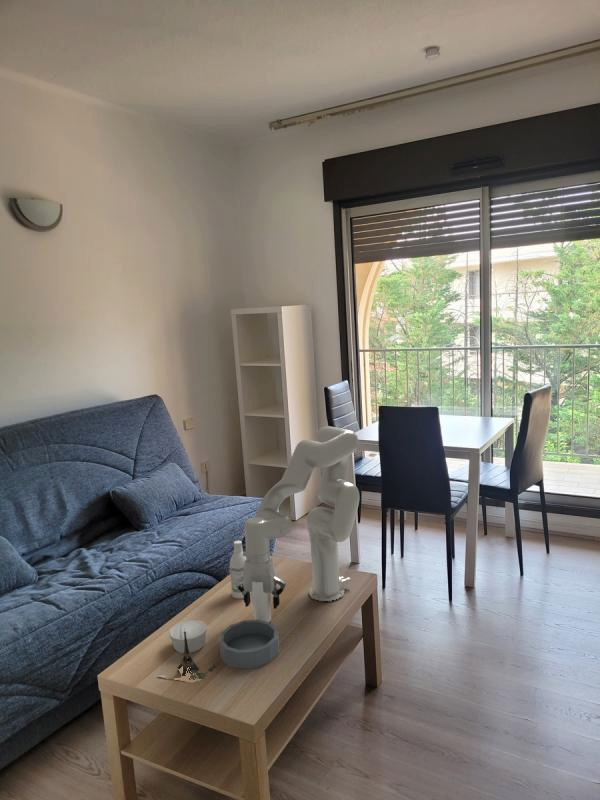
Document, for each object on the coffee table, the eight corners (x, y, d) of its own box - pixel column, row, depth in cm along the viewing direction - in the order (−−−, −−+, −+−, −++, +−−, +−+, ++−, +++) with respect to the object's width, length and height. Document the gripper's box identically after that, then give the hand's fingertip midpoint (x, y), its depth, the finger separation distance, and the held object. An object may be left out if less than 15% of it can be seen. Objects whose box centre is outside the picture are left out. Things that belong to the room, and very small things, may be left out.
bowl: (262, 628, 186) (261, 614, 185) (289, 654, 171) (288, 638, 170) (212, 647, 177) (210, 631, 176) (235, 675, 162) (234, 659, 161)
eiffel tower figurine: (154, 680, 163) (150, 636, 161) (172, 659, 173) (168, 617, 171) (203, 686, 159) (199, 641, 157) (218, 664, 169) (214, 622, 167)
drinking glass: (270, 626, 186) (267, 583, 184) (250, 625, 188) (247, 582, 186) (275, 616, 193) (272, 573, 191) (256, 615, 194) (252, 572, 192)
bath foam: (252, 597, 207) (248, 544, 204) (233, 600, 205) (228, 547, 202) (250, 588, 213) (246, 537, 210) (231, 591, 212) (227, 539, 209)
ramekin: (163, 647, 179) (162, 631, 178) (193, 631, 187) (191, 616, 186) (185, 660, 171) (183, 643, 170) (215, 643, 179) (213, 627, 178)
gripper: (229, 559, 186) (233, 609, 188) (280, 562, 181) (284, 613, 184) (237, 550, 193) (241, 598, 195) (287, 552, 188) (290, 602, 191)
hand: (262, 605), depth 190 cm, fingers open, 9 cm apart
